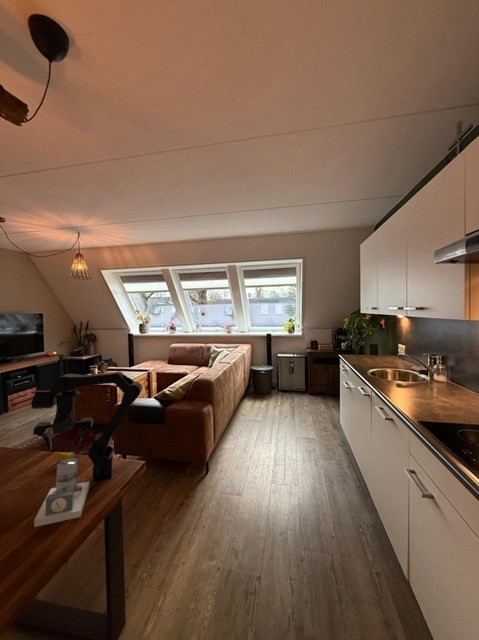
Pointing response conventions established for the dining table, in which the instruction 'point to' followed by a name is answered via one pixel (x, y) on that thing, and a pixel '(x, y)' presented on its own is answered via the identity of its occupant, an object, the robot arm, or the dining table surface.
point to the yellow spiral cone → (64, 455)
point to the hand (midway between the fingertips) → (64, 447)
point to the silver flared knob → (67, 470)
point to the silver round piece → (66, 486)
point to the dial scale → (62, 505)
